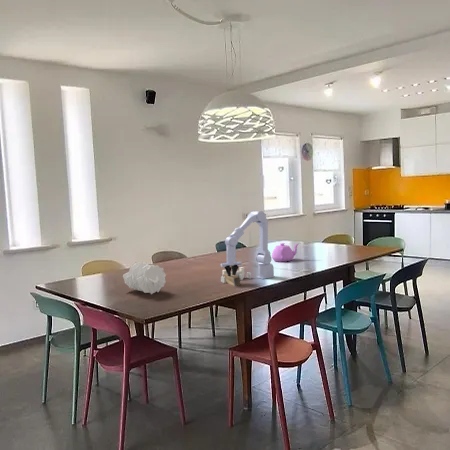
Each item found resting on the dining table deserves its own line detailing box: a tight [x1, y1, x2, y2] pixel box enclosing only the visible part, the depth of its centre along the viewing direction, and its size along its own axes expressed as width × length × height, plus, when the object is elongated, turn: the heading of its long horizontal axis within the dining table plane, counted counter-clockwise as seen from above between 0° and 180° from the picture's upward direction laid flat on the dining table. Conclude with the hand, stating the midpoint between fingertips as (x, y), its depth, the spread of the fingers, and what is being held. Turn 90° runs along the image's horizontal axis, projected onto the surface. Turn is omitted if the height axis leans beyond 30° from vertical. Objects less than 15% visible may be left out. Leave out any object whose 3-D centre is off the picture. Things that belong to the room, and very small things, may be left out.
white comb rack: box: [220, 266, 252, 284], centre depth 303 cm, size 21×6×7 cm, turn 120°
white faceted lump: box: [122, 261, 167, 295], centre depth 281 cm, size 18×18×25 cm
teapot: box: [271, 242, 299, 263], centre depth 367 cm, size 22×22×14 cm
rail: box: [222, 274, 241, 287], centre depth 293 cm, size 4×15×5 cm, turn 28°
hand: (231, 277), depth 293 cm, fingers closed on rail, 3 cm apart
